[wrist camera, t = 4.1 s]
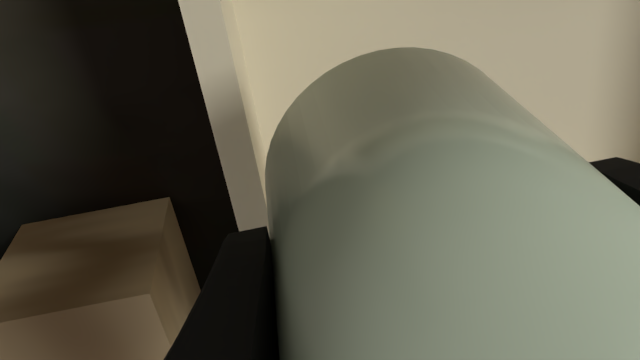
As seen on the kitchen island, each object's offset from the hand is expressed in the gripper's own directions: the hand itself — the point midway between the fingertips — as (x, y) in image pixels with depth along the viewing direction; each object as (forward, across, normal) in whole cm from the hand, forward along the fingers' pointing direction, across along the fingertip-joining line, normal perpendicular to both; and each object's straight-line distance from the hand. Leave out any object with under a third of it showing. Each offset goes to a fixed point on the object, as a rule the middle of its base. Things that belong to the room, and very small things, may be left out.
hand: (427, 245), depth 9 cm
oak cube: (+10, +9, +6) cm, 14 cm away
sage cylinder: (+2, 0, 0) cm, 2 cm away
